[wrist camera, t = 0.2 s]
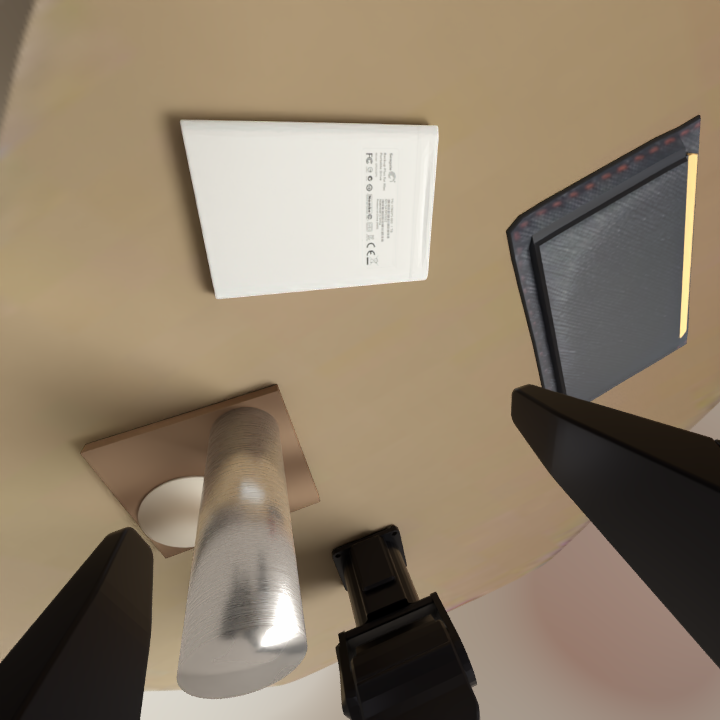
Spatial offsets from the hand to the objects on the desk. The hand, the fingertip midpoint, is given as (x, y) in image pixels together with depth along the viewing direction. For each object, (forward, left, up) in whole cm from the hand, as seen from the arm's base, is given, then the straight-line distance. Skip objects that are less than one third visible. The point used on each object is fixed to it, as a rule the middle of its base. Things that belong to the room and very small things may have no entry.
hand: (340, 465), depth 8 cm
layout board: (-12, +8, -15) cm, 21 cm away
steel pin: (-9, +5, -14) cm, 17 cm away
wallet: (-8, -24, -16) cm, 30 cm away
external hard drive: (+3, -3, -16) cm, 16 cm away
